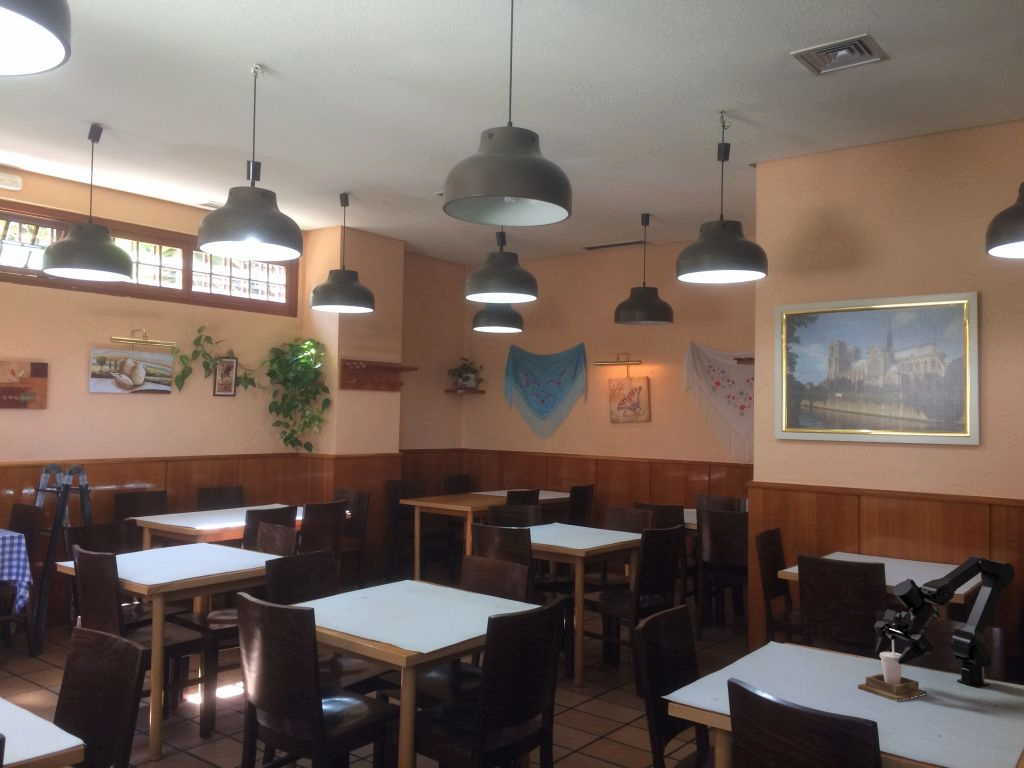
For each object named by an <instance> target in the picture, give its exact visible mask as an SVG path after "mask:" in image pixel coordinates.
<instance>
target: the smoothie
mask: <svg viewBox="0 0 1024 768" xmlns="http://www.w3.org/2000/svg"><path fill="white" fill-rule="evenodd" d="M891 649H892V650H891V651H884V652H881V653H880V655H879V658H880V660H881V666H882V667H881V668H882V672H883V673H882V674H884V681H885V682H886V683H890V684H893V685H898V684H900V679H901V677H902V667H903V664H899V663H898V660H899V658H900V656H901V655H902V653H898V652H895V640H892V645H891Z"/></svg>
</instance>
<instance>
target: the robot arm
mask: <svg viewBox="0 0 1024 768" xmlns="http://www.w3.org/2000/svg"><path fill="white" fill-rule="evenodd" d="M979 574H980V578H981V583H982V586H981V588H980V590H979V592H978V595H977V598H976V600H975V602H974V605H973V607H972V610H971V612H970V615H969V616H968V618H967V619H968V620H967V621H966V624H965V626H964V627H963V628H955V629H954V631H953V635H952V637H951V638H950V639H949V640H950V641H951V642H950V648H951V651H952V654H953V655H954V659H955V660H958V661H960V662H961V663H960V675H961V676H960V678H958V679H956V682H957V683H961V684H964V685H967V684H968V685H967V686H970V687H971V686H972V687H974V688H980V687H981V688H982V687H985V686H989V685H990V682H988V681H985V668H987V667H990V666H991V663H992V657H990V655H989V654H988V653H987V652H986V651H985V647H986V642H985V637H984V634H985V631H986V628H987V625H988V624H989V621H990V619H991V616H992V614H993V611H994V609H995V606H996V604H997V601H998V599H999V596H1000V594H1001V592H1003V591H1004V590H1006V589H1007V588H1008V587H1010V585H1011V584H1012V582H1013V580H1014V579H1015V577H1016V571H1015V568H1014V566H1013V565H1012V564H1011V563H1010V562H1004V561H1003V562H1002V561H997V560H993V559H987V558H985V557H981V556H975V555H972V556H969V557H968V558H967V559H966V560H965V561H964V562H962V563H961V564H960V565H958V566H957V567H955V568H954V569H953V570H951V571H950V572H949V573H947V574H945V575H944V576H943V577H940V578H937V579H932V580H929V581H927V582H925V583H923V584H922V585H921V586H918V585H917V584H916V582H915V581H914V580H913V579H911V578H907V579H905V580H903V581H900V582H899V583H898V584H896V585H895V586H894V587H893V590H892V591H893V592H892V593H893V595H895V596H896V597H897V598H898V600H899V601H900V602H901V603H902V604H903V605H904V606H905V608H907V609H909V610H908V612H906V611H901V613H900V612H897V611H895V610H891V609H888V608H887V609H886V611H885V614H884V616H883V620H884V621H883V620H877V621H876V623H874V625H873V627H874V628H875V632H877V634H878V639H877V643H876V648H875V651H874V654H875V655H876V656H880V653H881V652H886V650H887V649H889V648H890V647H892V640H894V641H897V639H901V640H904V641H907V643H906V647H905V648H904V650H903V651H902V653H901V654H902V655H901V656H900V658H899V660H898V663H899V664H902V665H903V664H905V663H907V662H909V661H911V660H914V659H916V658H919V657H922V656H927V655H932V654H933V653H934V651H935V644H934V643H933V642H932V641H931V640H930V639H929V637H928V636H927V635H926V634H923V633H922V632H925V633H926V632H927V630H928V628H927V627H926V626H927V625H928V624H929V622H930V620H931V619H932V618H933V617H934V618H938V619H941V613H940V608H939V607H935V606H934V605H938V606H946V605H947V604H949V603H950V602H951V600H952V599H953V598H954V597H955V594H956V591H957V590H958V589H960V588H962V586H964V585H965V584H966V583H968V582H969V581H972V579H974V578H975V577H977V576H978V575H979ZM933 604H934V605H933ZM886 621H888V622H886ZM890 623H892V625H891V624H890Z"/></svg>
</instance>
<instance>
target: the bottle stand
mask: <svg viewBox="0 0 1024 768" xmlns="http://www.w3.org/2000/svg"><path fill="white" fill-rule="evenodd" d="M919 684H920V683H919V681H917V680H914V679H910V678H908V677H904V676H901V679H900V684H898V685H893V684H890V683H886V682H885V681H884V674H883V673H878V674H874V675H869V676H865V683H861V684H858V685H857V688H858V689H859V690H860V691H861V690H862V691H864V692H867V693H871V694H872V695H873V694H874V695H877V696H880V697H882V696H883V698H885V697H886V698H885V699H888V698H890V699H889V700H891V699H893V700H892V701H894V700H897V701H898V700H902V701H904V700H903V699H907V698H911V697H915V696H919V695H923V694H927V695H928V691H927V690H924V689H920V687H919V686H920V685H919ZM915 698H916V697H915ZM911 699H912V698H911ZM907 700H908V699H907ZM897 701H896V702H897ZM898 702H899V701H898Z"/></svg>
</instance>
